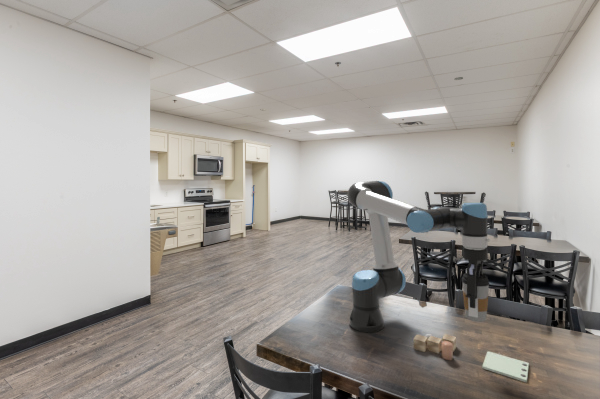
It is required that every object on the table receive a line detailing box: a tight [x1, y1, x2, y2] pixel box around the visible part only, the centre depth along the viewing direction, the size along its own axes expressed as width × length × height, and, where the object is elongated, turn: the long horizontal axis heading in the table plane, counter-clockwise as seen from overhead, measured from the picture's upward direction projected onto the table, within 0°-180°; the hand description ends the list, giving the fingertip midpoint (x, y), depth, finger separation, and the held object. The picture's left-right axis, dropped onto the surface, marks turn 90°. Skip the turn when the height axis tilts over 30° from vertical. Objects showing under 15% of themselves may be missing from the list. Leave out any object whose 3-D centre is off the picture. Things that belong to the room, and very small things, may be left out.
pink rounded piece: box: [441, 341, 454, 361], centre depth 108 cm, size 4×4×5 cm
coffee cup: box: [461, 272, 490, 323], centre depth 105 cm, size 8×8×15 cm
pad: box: [481, 350, 530, 384], centre depth 102 cm, size 12×11×1 cm
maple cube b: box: [427, 336, 442, 354], centre depth 113 cm, size 4×4×4 cm
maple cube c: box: [441, 333, 457, 352], centre depth 114 cm, size 4×4×4 cm
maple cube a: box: [413, 334, 428, 353], centre depth 115 cm, size 4×4×4 cm
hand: (475, 311), depth 105 cm, fingers closed on coffee cup, 7 cm apart
